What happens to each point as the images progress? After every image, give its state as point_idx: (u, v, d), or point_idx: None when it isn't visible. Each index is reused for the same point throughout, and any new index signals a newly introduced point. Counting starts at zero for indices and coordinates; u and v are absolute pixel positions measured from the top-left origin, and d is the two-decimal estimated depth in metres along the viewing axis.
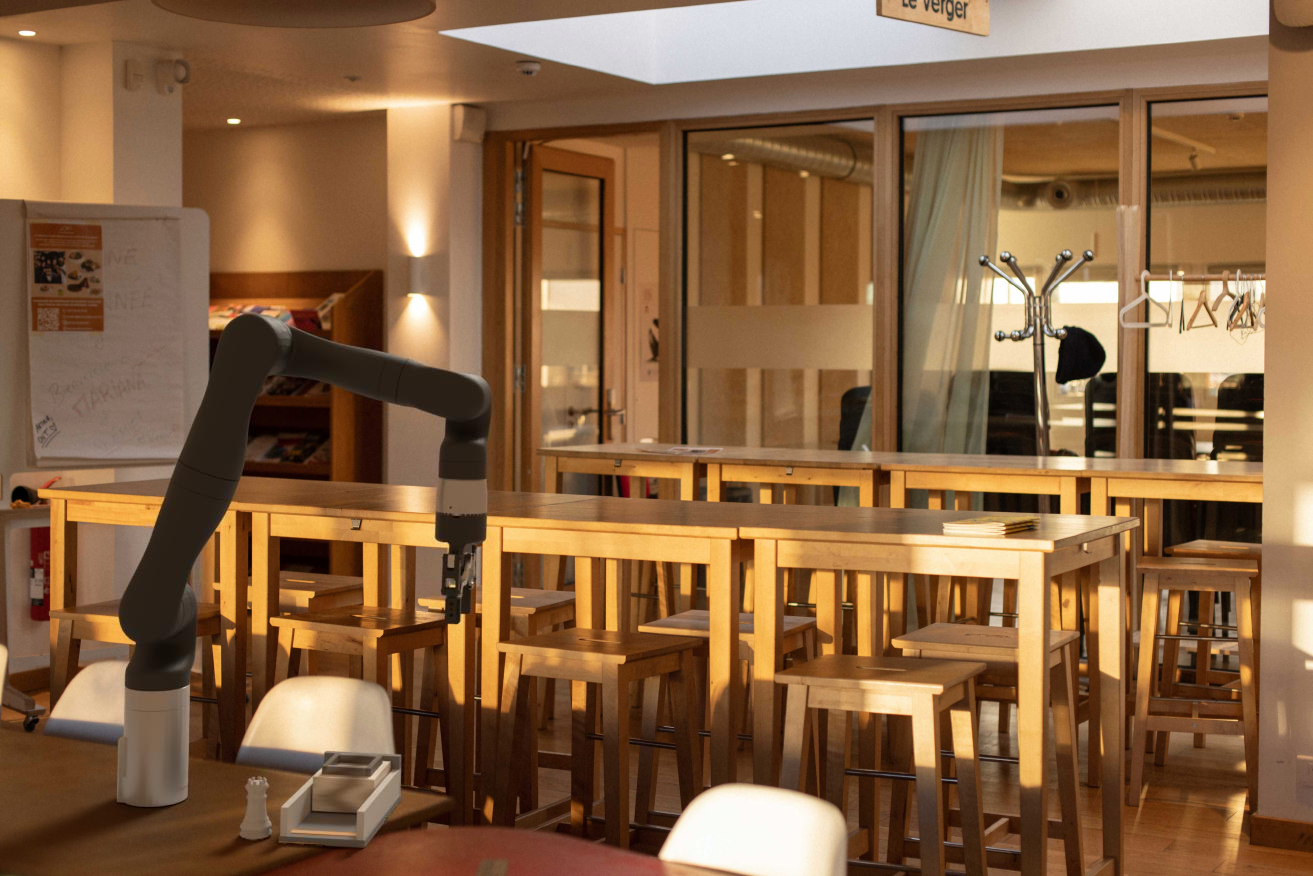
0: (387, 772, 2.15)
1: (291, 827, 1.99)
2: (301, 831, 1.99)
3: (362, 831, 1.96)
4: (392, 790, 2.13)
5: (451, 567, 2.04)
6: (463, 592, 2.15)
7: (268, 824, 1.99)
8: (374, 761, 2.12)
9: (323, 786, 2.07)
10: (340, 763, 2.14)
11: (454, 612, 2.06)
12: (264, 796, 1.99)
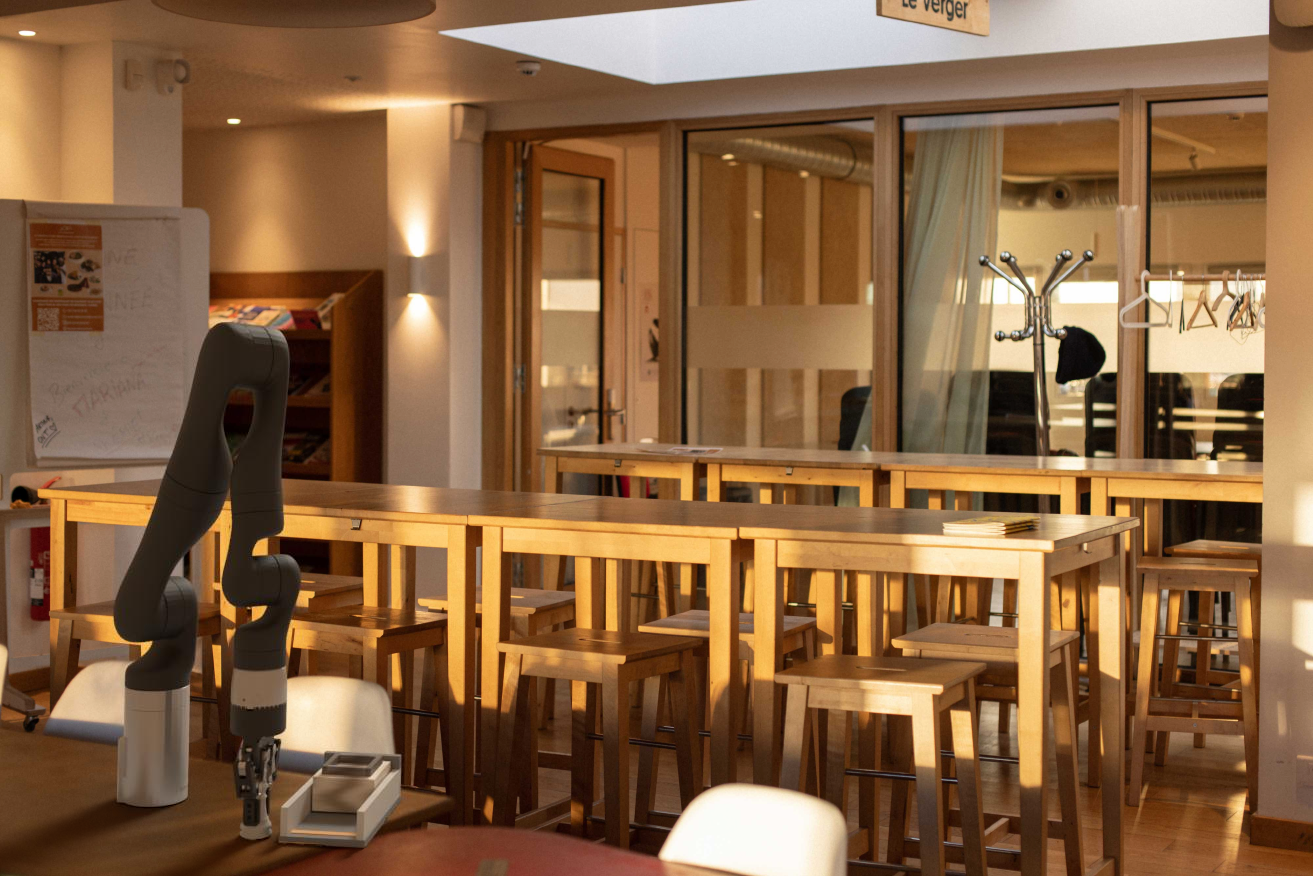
0: (387, 772, 2.15)
1: (291, 827, 1.99)
2: (301, 831, 1.99)
3: (362, 831, 1.96)
4: (392, 790, 2.13)
5: (243, 775, 1.93)
6: None
7: (268, 824, 1.99)
8: (374, 761, 2.12)
9: (323, 786, 2.07)
10: (340, 763, 2.14)
11: (252, 814, 1.96)
12: (264, 796, 1.99)
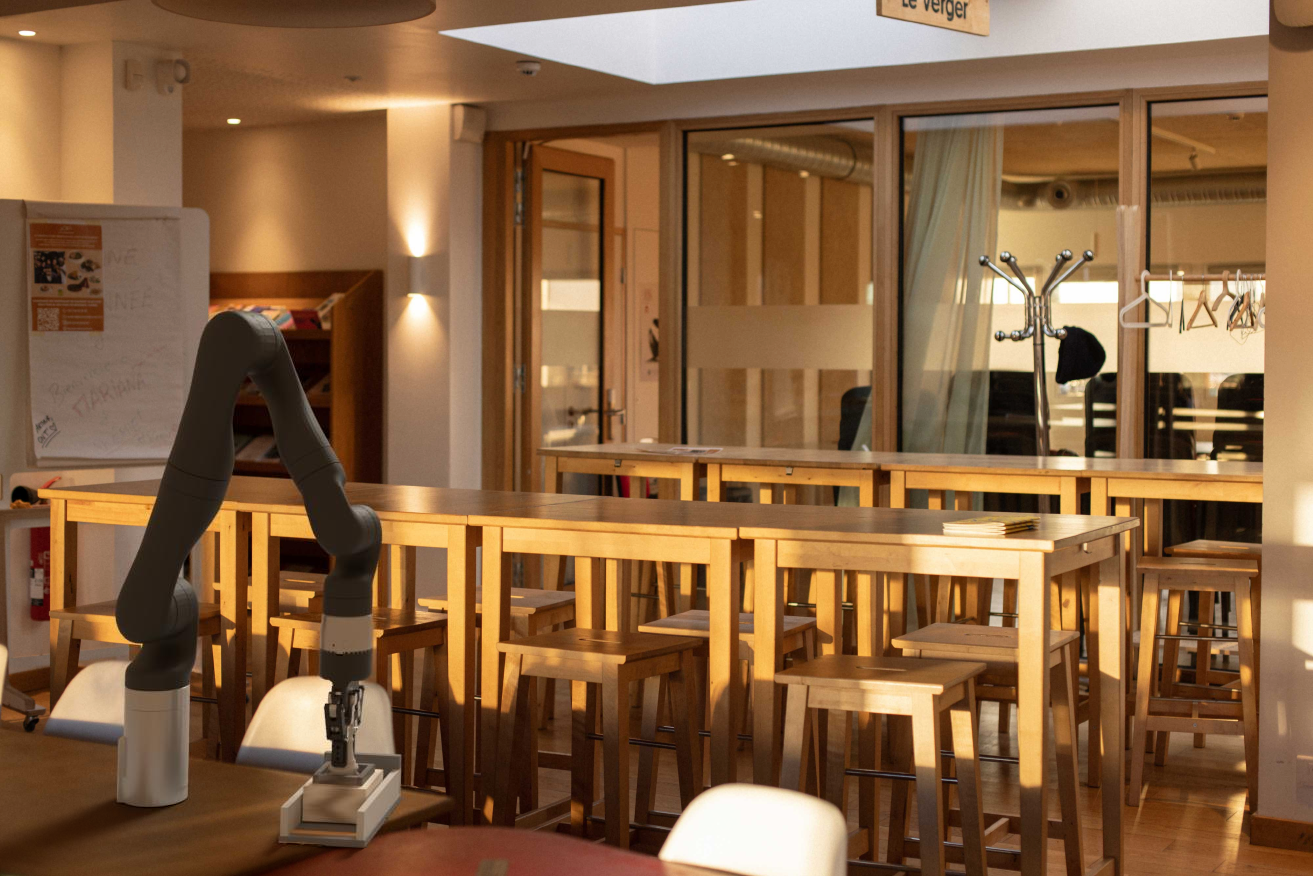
0: (379, 781, 2.10)
1: (291, 827, 1.99)
2: (301, 831, 1.99)
3: (362, 831, 1.96)
4: (392, 790, 2.13)
5: (334, 717, 2.00)
6: None
7: (355, 766, 2.06)
8: (366, 770, 2.07)
9: (314, 796, 2.03)
10: None
11: (340, 756, 2.03)
12: (352, 739, 2.06)
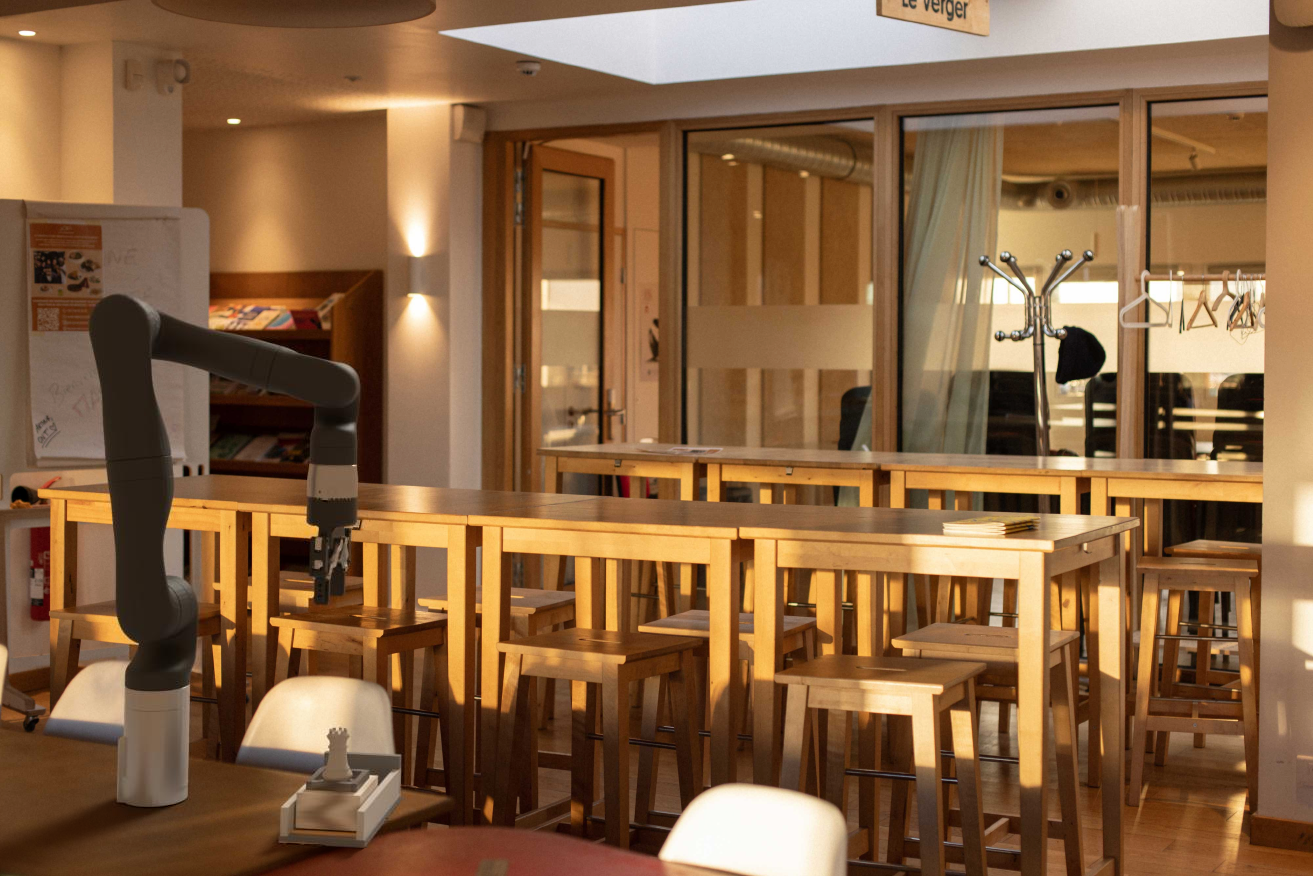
0: (374, 787, 2.07)
1: (291, 827, 1.99)
2: (301, 831, 1.99)
3: (362, 831, 1.96)
4: (392, 790, 2.13)
5: (318, 549, 2.11)
6: (337, 574, 2.22)
7: (349, 773, 2.03)
8: (360, 776, 2.04)
9: (307, 802, 1.99)
10: None
11: (322, 593, 2.13)
12: (345, 746, 2.03)
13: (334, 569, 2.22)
